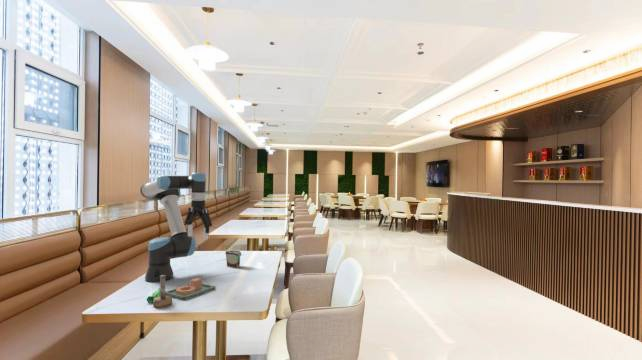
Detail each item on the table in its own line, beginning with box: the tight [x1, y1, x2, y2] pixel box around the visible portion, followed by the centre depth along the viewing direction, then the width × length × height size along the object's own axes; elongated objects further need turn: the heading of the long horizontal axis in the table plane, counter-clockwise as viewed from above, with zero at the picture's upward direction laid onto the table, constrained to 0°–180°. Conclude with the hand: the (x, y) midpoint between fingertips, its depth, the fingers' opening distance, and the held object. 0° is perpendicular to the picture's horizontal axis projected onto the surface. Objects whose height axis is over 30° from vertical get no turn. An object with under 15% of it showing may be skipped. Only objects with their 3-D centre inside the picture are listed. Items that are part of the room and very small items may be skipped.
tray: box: [165, 282, 216, 301], centre depth 184 cm, size 20×15×2 cm
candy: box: [146, 287, 160, 304], centre depth 174 cm, size 12×3×4 cm
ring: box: [176, 277, 203, 296], centre depth 183 cm, size 9×13×5 cm
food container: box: [224, 250, 242, 269], centre depth 236 cm, size 12×6×10 cm, turn 58°
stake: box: [152, 275, 173, 309], centre depth 165 cm, size 8×8×14 cm
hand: (197, 237), depth 201 cm, fingers open, 13 cm apart
